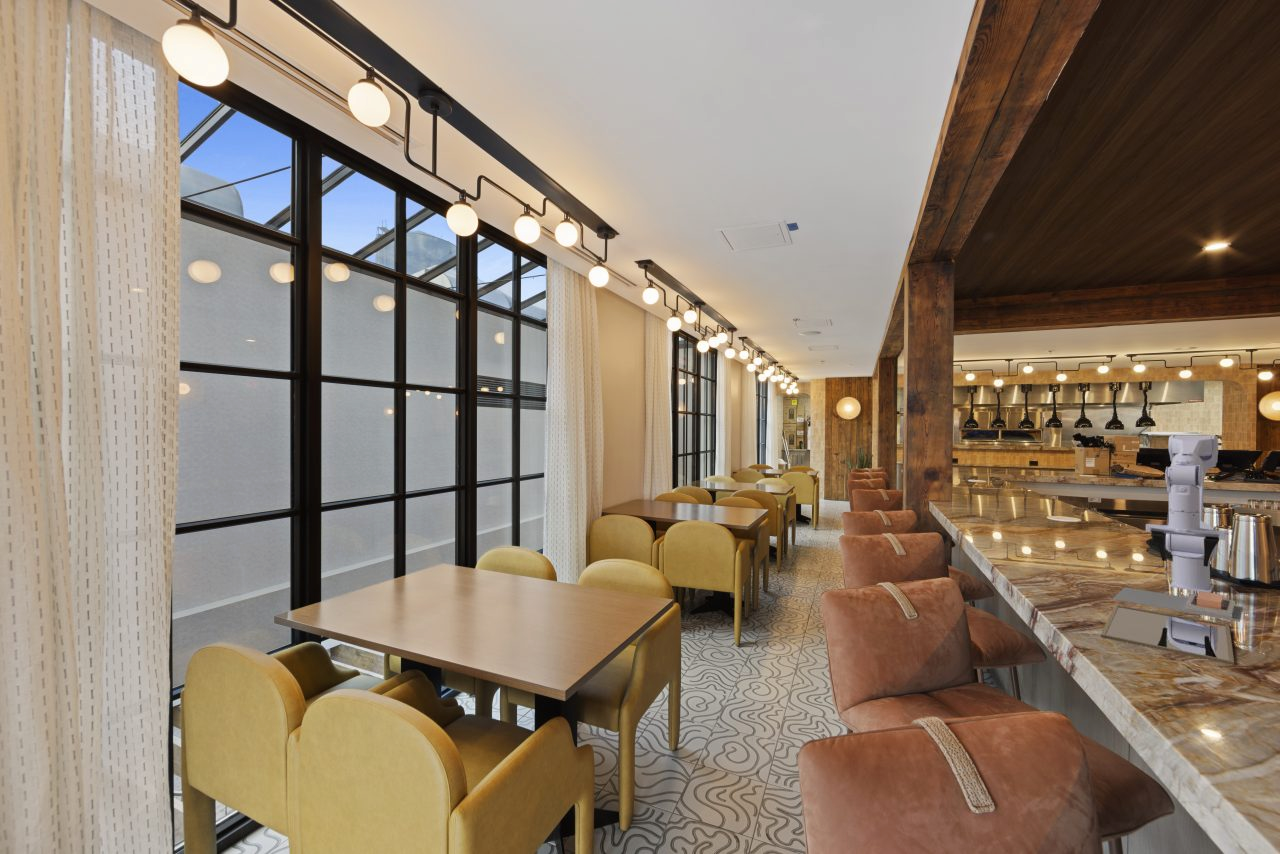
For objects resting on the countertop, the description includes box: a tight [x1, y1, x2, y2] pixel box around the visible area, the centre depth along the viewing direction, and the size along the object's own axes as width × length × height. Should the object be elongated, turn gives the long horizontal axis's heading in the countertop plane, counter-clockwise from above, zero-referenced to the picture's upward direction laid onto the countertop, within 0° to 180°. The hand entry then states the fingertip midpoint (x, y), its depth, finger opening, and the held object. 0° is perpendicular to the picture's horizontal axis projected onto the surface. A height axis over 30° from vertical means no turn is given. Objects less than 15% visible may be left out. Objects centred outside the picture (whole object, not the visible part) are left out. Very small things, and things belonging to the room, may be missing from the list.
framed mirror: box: [1100, 604, 1235, 666], centre depth 118 cm, size 19×1×28 cm
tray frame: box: [1186, 593, 1236, 618], centre depth 132 cm, size 13×8×2 cm, turn 130°
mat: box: [1112, 586, 1244, 623], centre depth 136 cm, size 16×22×1 cm
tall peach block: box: [1197, 591, 1225, 610], centre depth 132 cm, size 4×9×3 cm, turn 130°
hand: (1184, 563), depth 140 cm, fingers open, 7 cm apart
